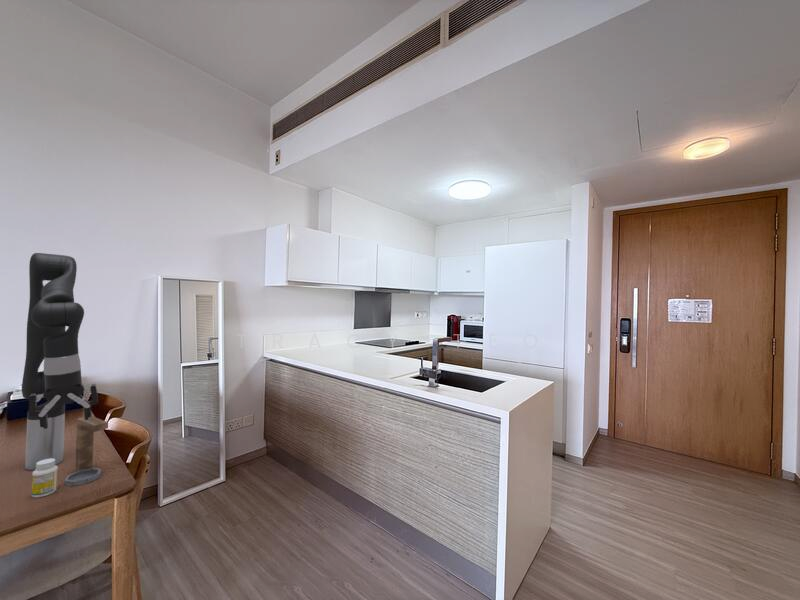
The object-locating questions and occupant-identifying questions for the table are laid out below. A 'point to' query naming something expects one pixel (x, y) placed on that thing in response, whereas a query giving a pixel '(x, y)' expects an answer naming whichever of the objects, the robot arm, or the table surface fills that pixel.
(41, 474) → the supplement bottle
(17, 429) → the table surface
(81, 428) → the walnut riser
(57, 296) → the robot arm
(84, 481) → the locator ring
